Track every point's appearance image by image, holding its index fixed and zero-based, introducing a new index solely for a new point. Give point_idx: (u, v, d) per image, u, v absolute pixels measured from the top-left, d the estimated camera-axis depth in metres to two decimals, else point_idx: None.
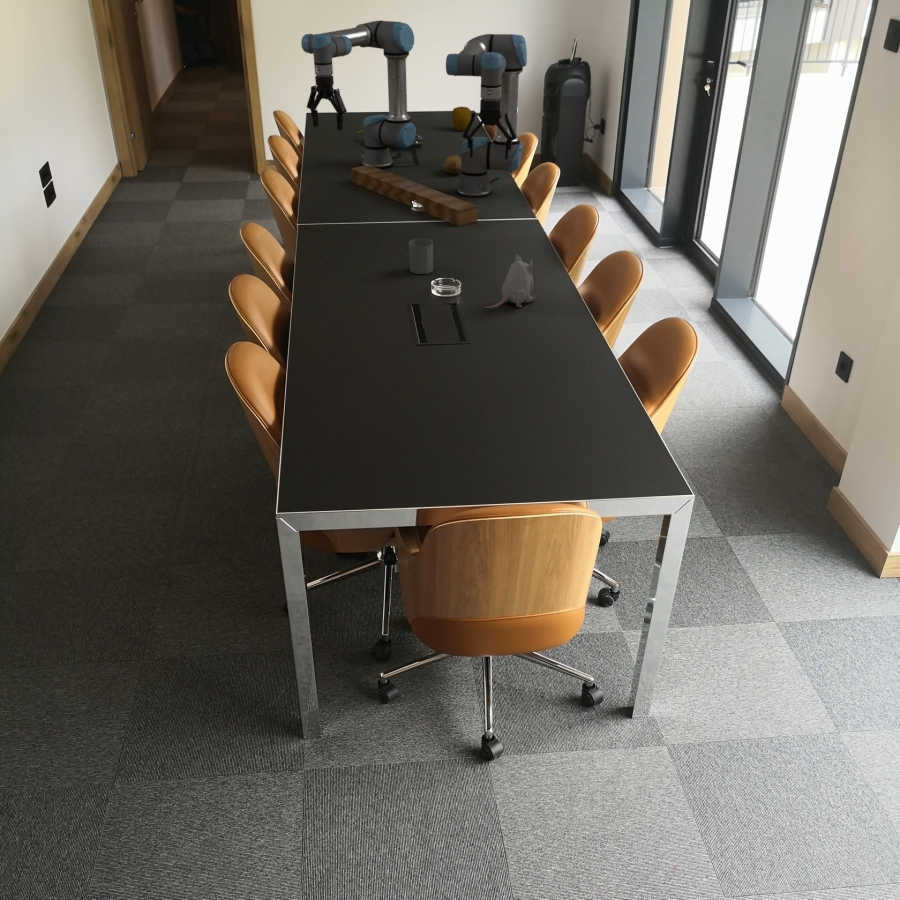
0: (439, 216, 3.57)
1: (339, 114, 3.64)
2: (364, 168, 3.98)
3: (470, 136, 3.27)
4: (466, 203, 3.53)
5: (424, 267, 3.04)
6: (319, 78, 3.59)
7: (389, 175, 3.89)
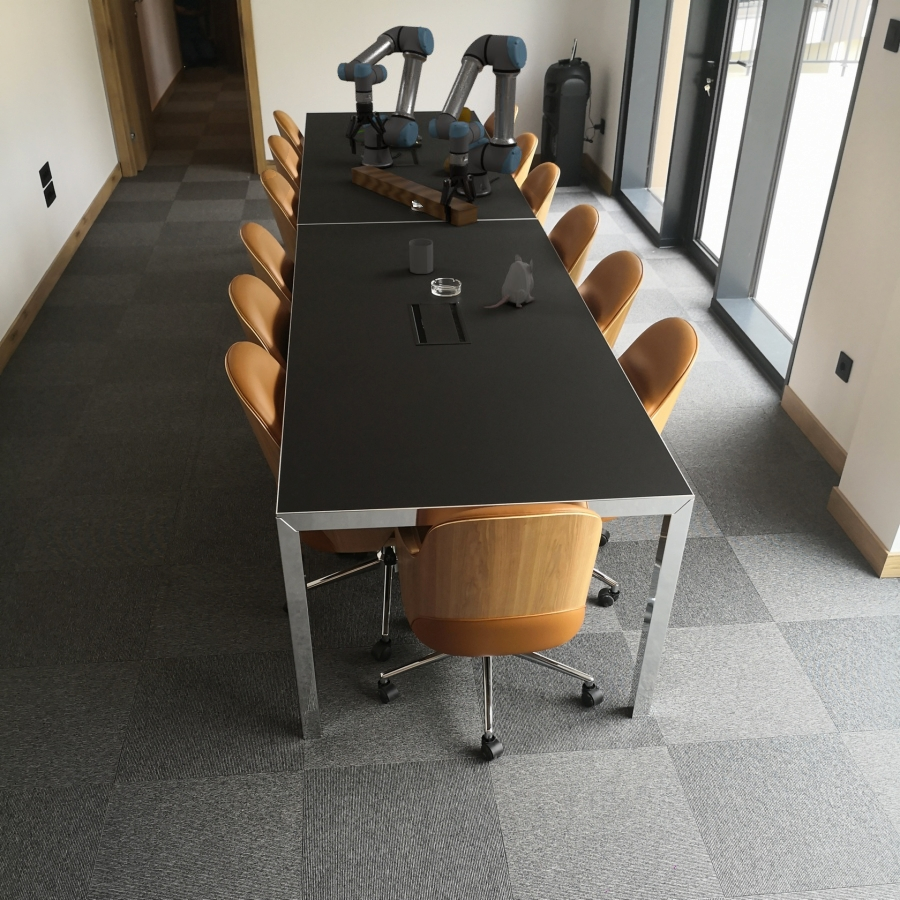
0: (439, 216, 3.57)
1: (382, 134, 3.92)
2: (364, 168, 3.98)
3: (449, 203, 3.47)
4: (466, 203, 3.53)
5: (424, 267, 3.04)
6: (370, 105, 3.80)
7: (389, 175, 3.89)
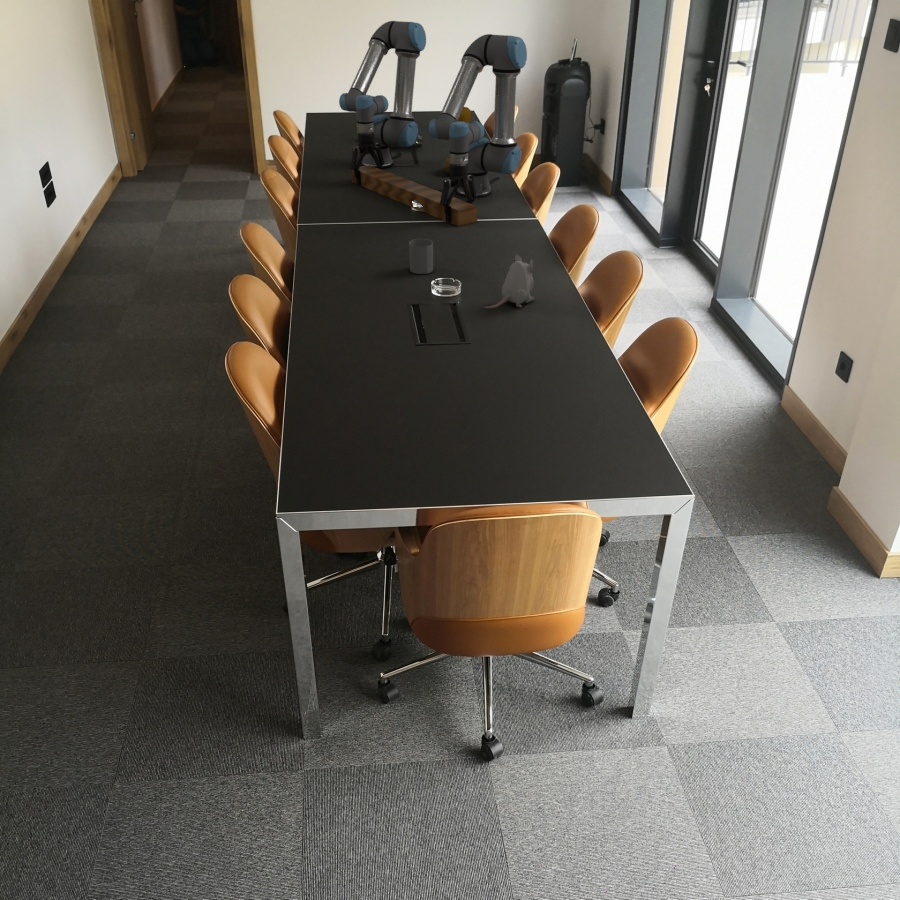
0: (439, 216, 3.57)
1: None
2: (364, 168, 3.98)
3: (449, 203, 3.47)
4: (466, 203, 3.53)
5: (424, 267, 3.04)
6: (371, 135, 3.87)
7: (389, 175, 3.89)
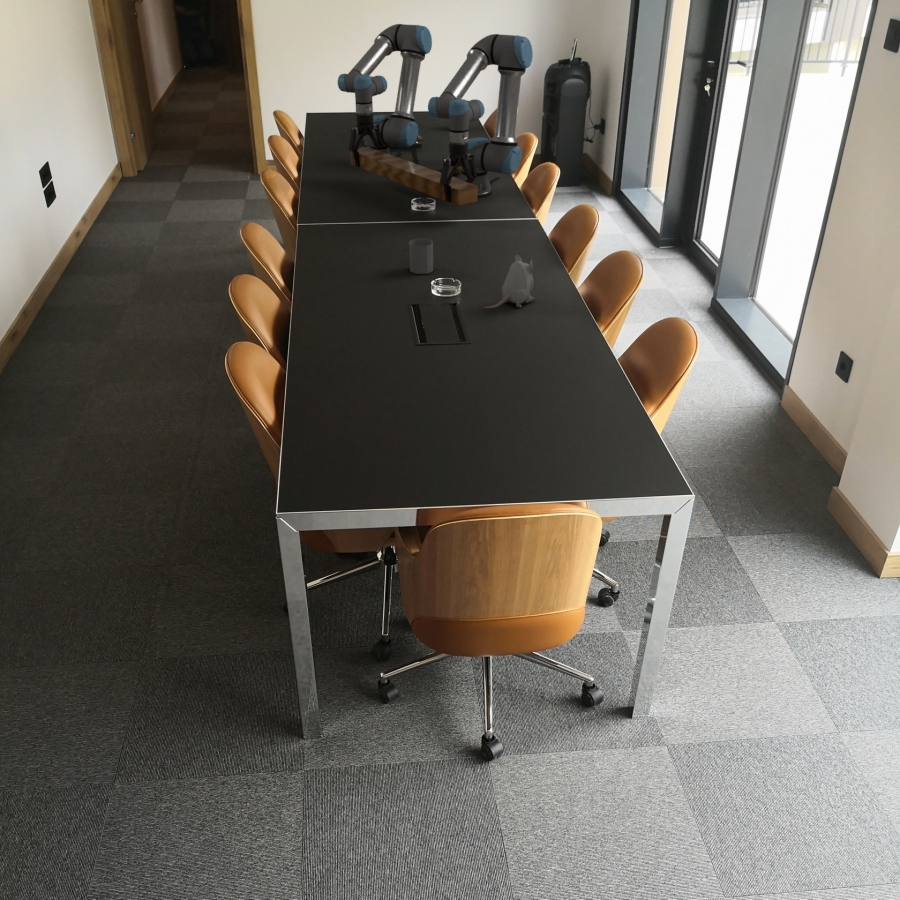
0: (439, 196, 3.52)
1: (380, 147, 3.95)
2: (363, 150, 3.94)
3: (449, 182, 3.43)
4: (466, 183, 3.49)
5: (424, 267, 3.04)
6: (370, 116, 3.82)
7: (388, 156, 3.84)
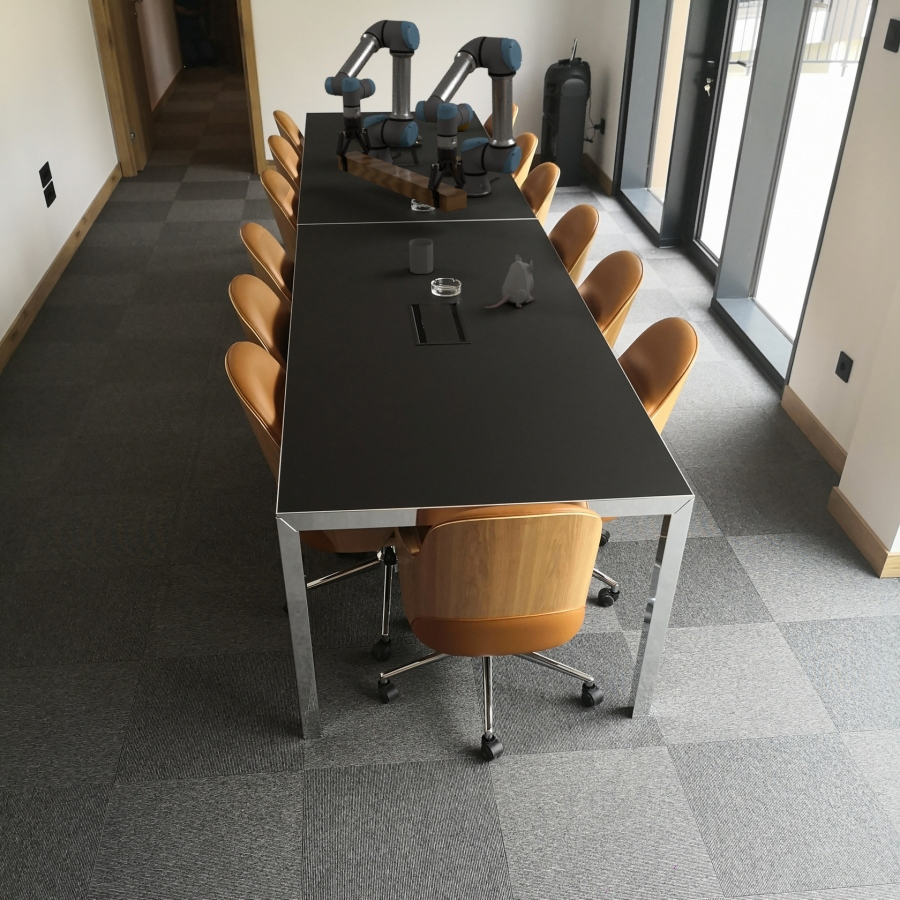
0: (427, 202, 3.43)
1: None
2: (351, 154, 3.85)
3: (437, 188, 3.34)
4: (455, 188, 3.40)
5: (424, 267, 3.04)
6: (358, 119, 3.73)
7: (376, 161, 3.75)
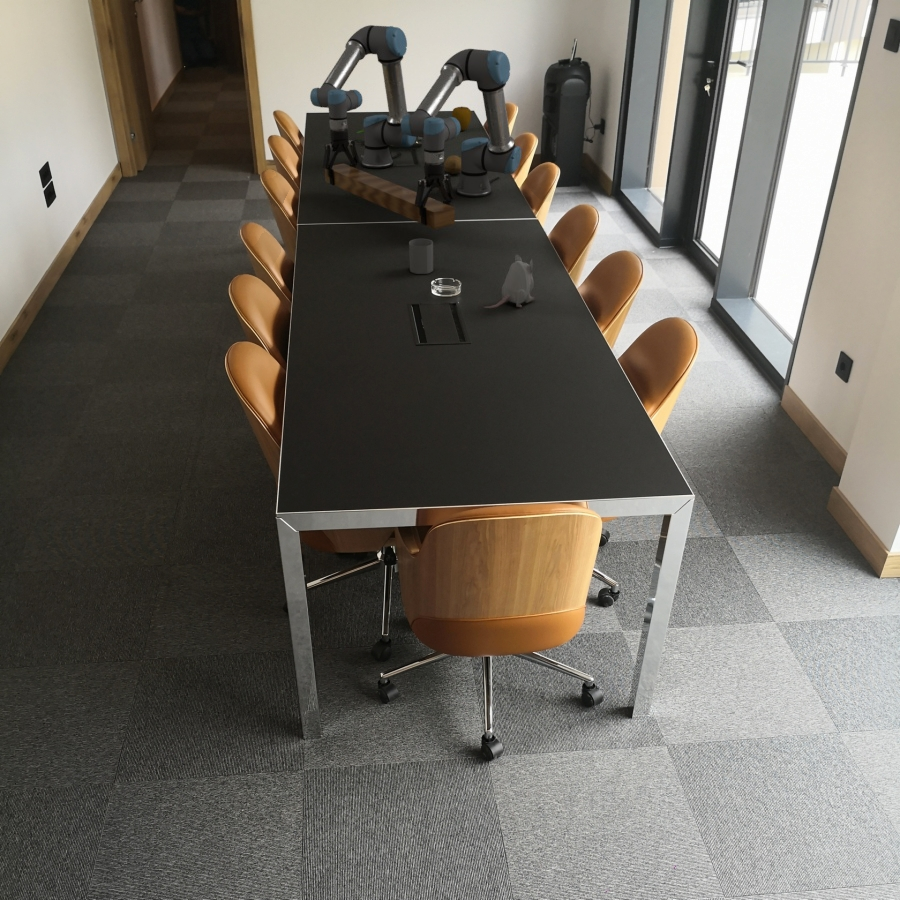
0: (414, 218, 3.36)
1: (355, 164, 3.78)
2: (338, 167, 3.77)
3: (424, 204, 3.26)
4: (443, 204, 3.32)
5: (424, 267, 3.04)
6: (344, 132, 3.65)
7: (364, 174, 3.67)
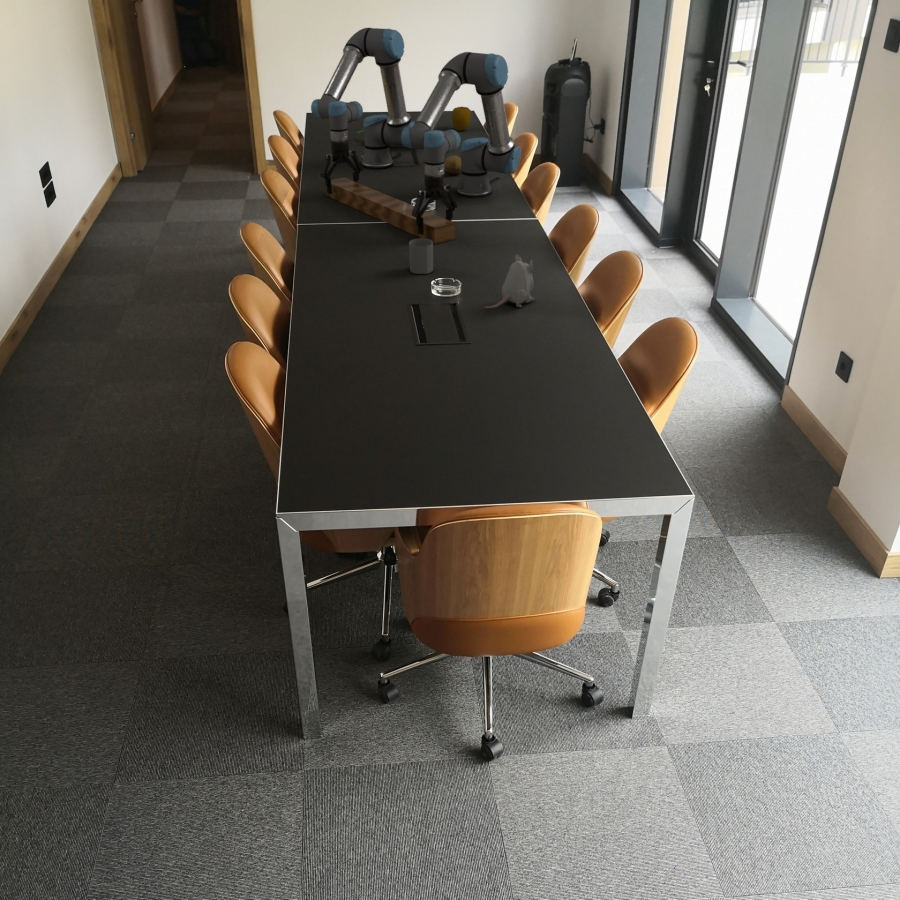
0: (415, 233, 3.39)
1: (359, 172, 3.81)
2: (339, 181, 3.81)
3: (421, 214, 3.27)
4: (443, 219, 3.36)
5: (424, 267, 3.04)
6: (345, 143, 3.68)
7: (364, 188, 3.71)
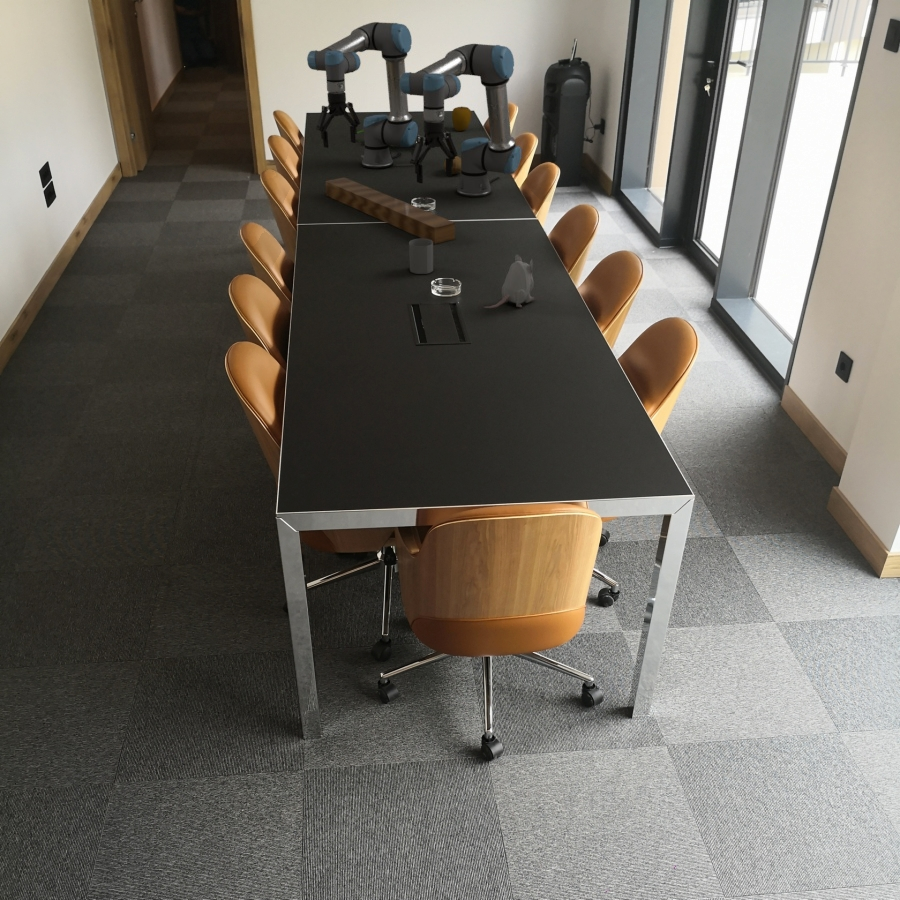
0: (415, 233, 3.39)
1: None
2: (339, 181, 3.81)
3: (420, 161, 3.17)
4: (443, 219, 3.36)
5: (424, 267, 3.04)
6: (342, 95, 3.57)
7: (364, 188, 3.71)
